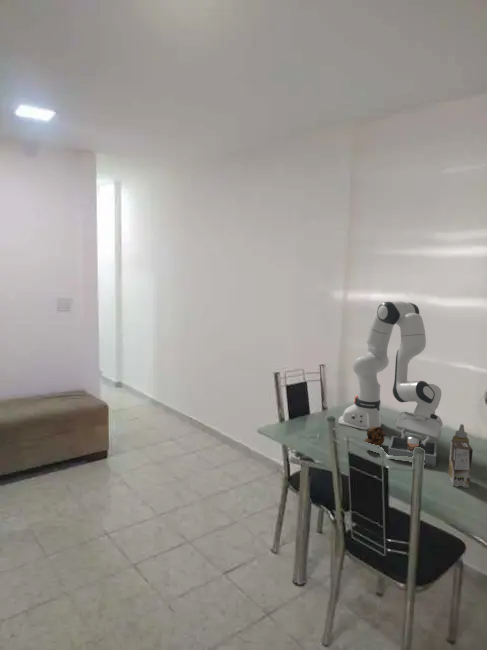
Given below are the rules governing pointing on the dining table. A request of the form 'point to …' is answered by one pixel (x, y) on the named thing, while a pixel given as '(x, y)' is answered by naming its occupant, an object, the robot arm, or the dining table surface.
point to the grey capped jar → (412, 442)
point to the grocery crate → (400, 449)
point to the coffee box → (460, 463)
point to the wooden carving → (375, 435)
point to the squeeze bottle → (461, 435)
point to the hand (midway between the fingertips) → (412, 442)
